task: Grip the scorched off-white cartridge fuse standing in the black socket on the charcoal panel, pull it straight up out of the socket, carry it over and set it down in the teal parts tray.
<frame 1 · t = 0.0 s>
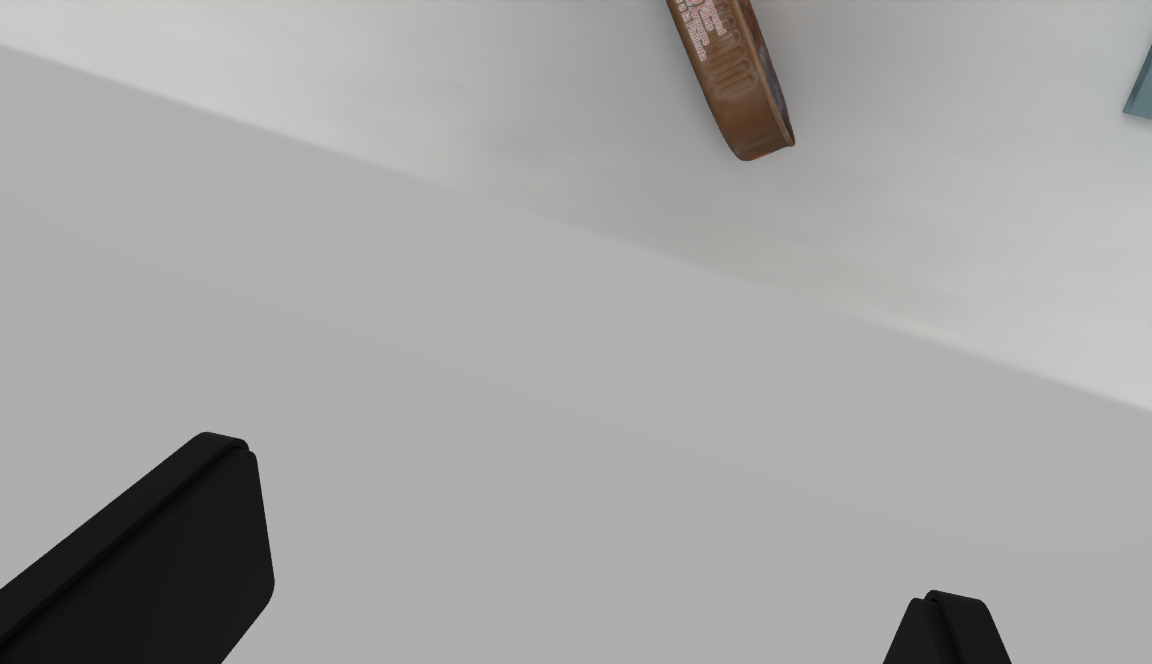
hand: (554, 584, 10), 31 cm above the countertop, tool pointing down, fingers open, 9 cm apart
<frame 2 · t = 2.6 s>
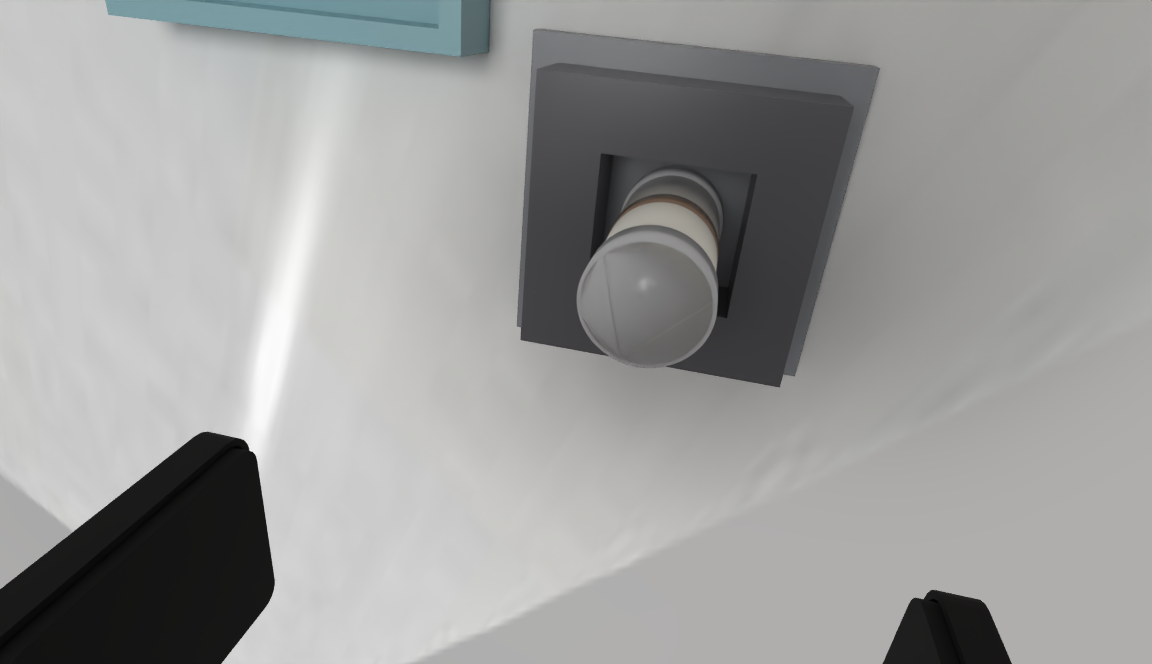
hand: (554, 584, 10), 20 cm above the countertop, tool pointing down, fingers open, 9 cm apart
fuse: (673, 215, 26), point 1 cm above the countertop, touching fuse panel
fuse panel: (675, 208, 27), on the countertop
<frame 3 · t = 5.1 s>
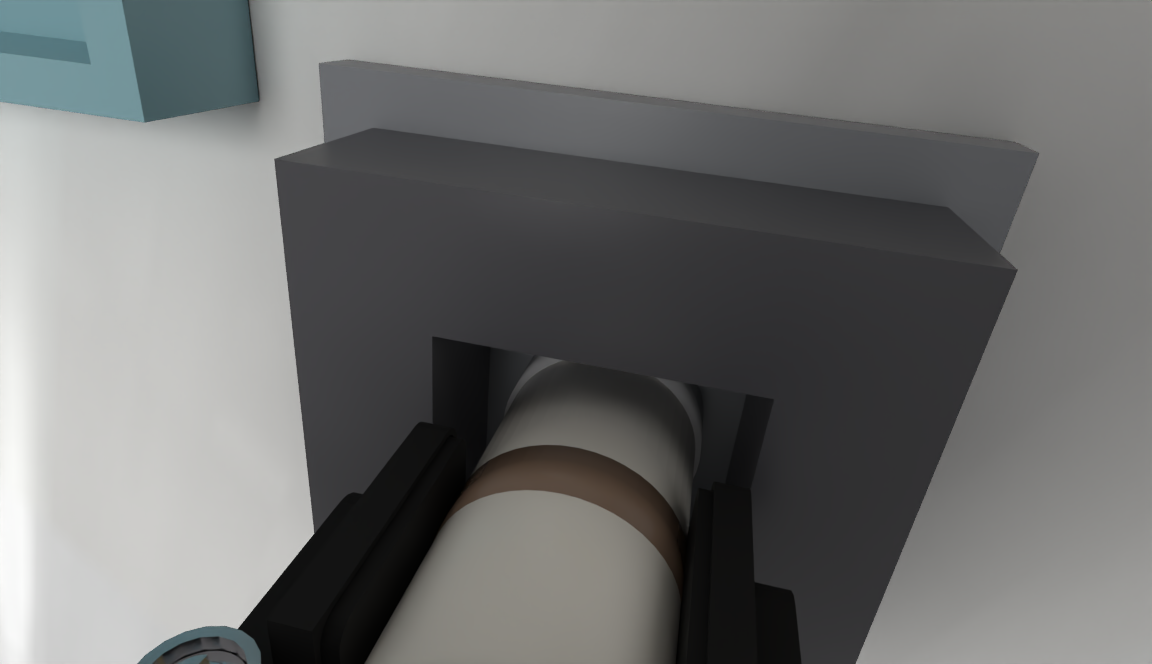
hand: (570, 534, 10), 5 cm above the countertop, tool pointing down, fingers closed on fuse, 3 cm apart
fuse: (609, 408, 14), point 1 cm above the countertop, touching fuse panel, gripper
fuse panel: (616, 384, 15), on the countertop
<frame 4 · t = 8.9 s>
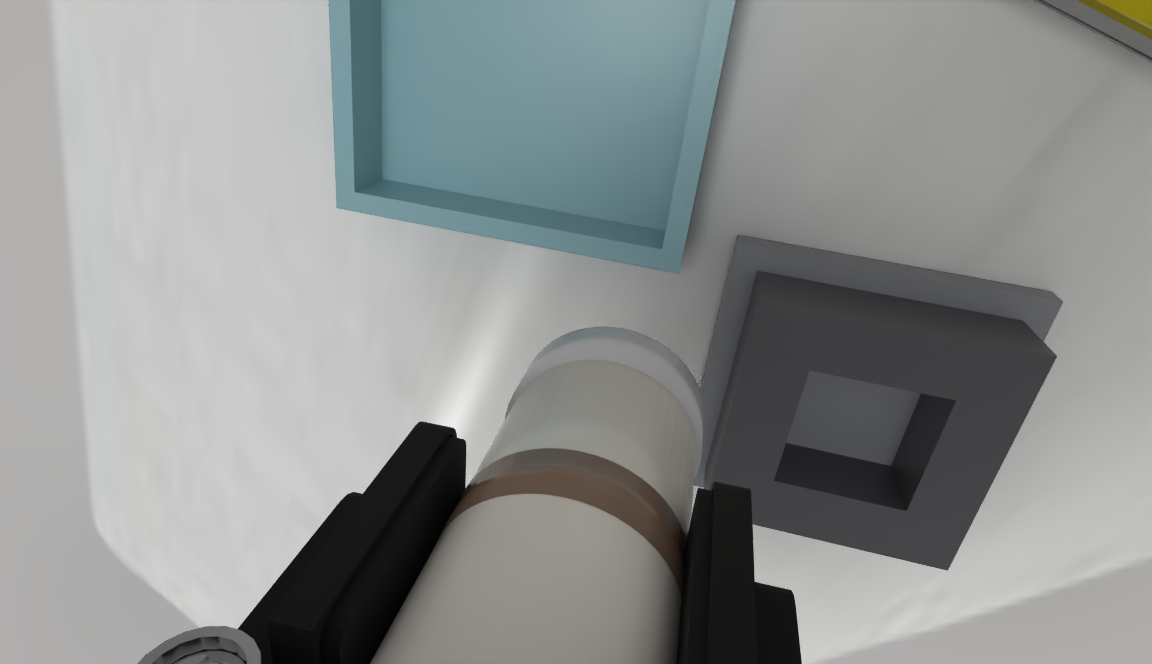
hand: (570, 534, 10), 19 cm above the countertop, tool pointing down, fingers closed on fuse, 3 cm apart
fuse: (610, 410, 14), point 15 cm above the countertop, touching gripper
parts tray: (536, 71, 26), on the countertop
fuse panel: (844, 391, 29), on the countertop
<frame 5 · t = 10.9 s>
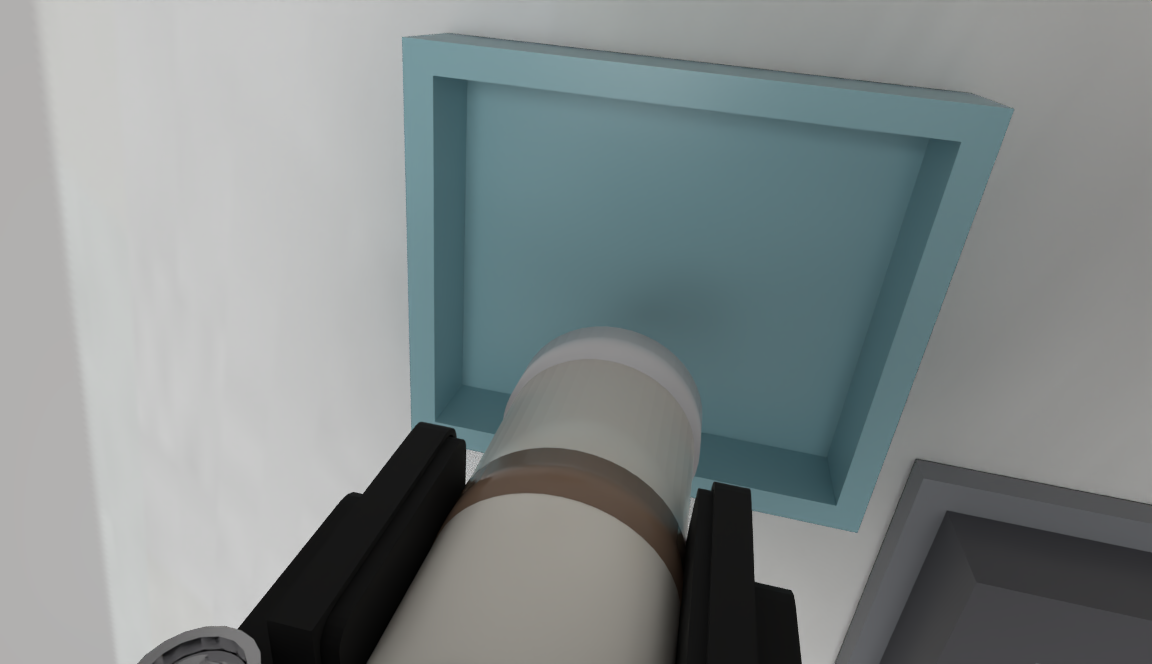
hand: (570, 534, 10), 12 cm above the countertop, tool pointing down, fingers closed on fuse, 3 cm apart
fuse: (608, 410, 14), point 8 cm above the countertop, touching gripper
parts tray: (661, 269, 21), on the countertop
fuse panel: (1042, 633, 23), on the countertop
when the fingers open (6 cm above the countertop, at t = 12.7 s): fuse drops 1 cm, resting on parts tray.
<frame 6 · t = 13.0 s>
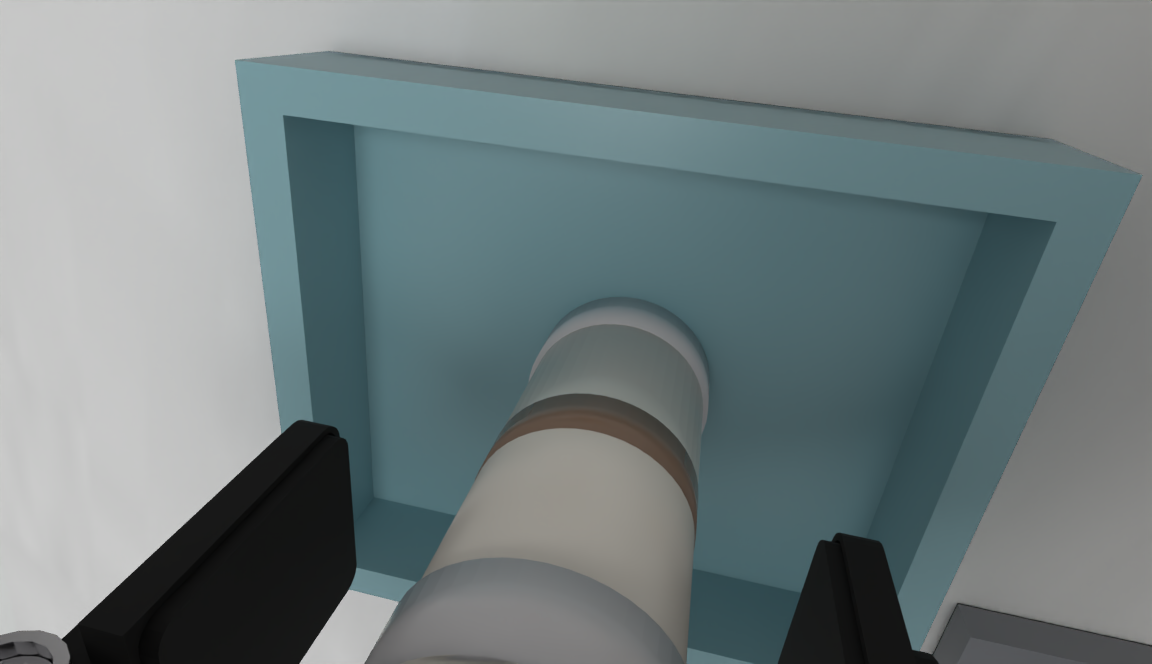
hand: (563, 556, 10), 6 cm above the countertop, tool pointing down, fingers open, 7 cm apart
fuse: (623, 375, 15), point 1 cm above the countertop, touching parts tray
parts tray: (623, 361, 16), on the countertop
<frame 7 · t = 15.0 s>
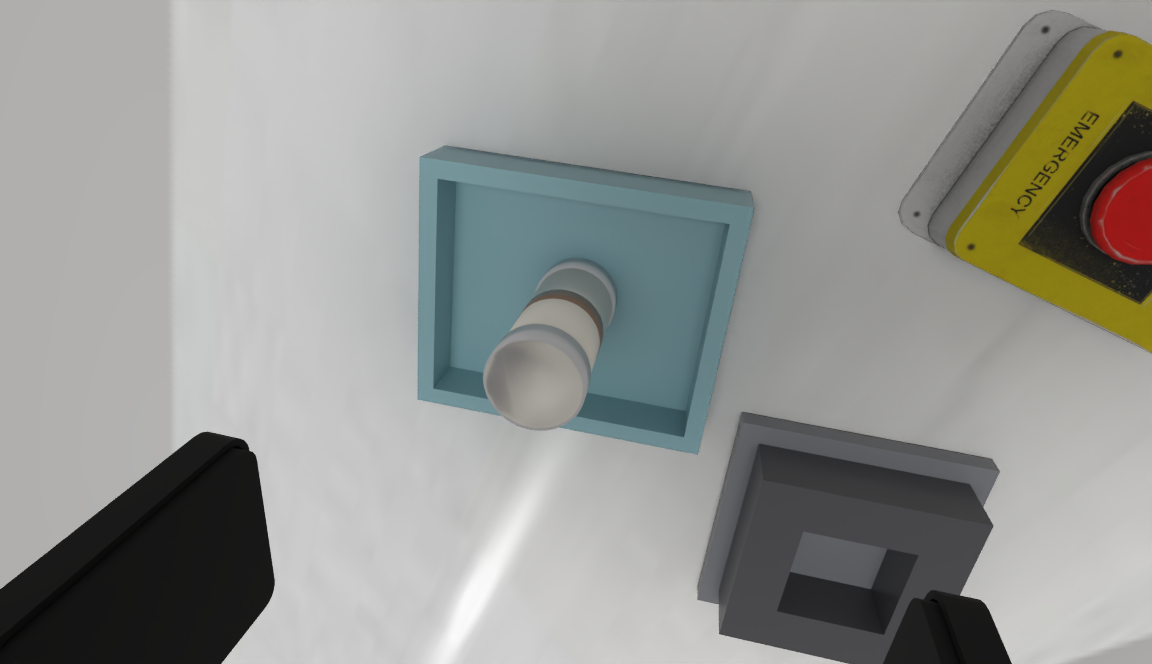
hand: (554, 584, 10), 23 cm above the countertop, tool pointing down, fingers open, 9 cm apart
fuse: (578, 295, 32), point 1 cm above the countertop, touching parts tray
emergency button: (1115, 197, 28), on the countertop
parts tray: (578, 290, 33), on the countertop
fuse panel: (831, 528, 36), on the countertop
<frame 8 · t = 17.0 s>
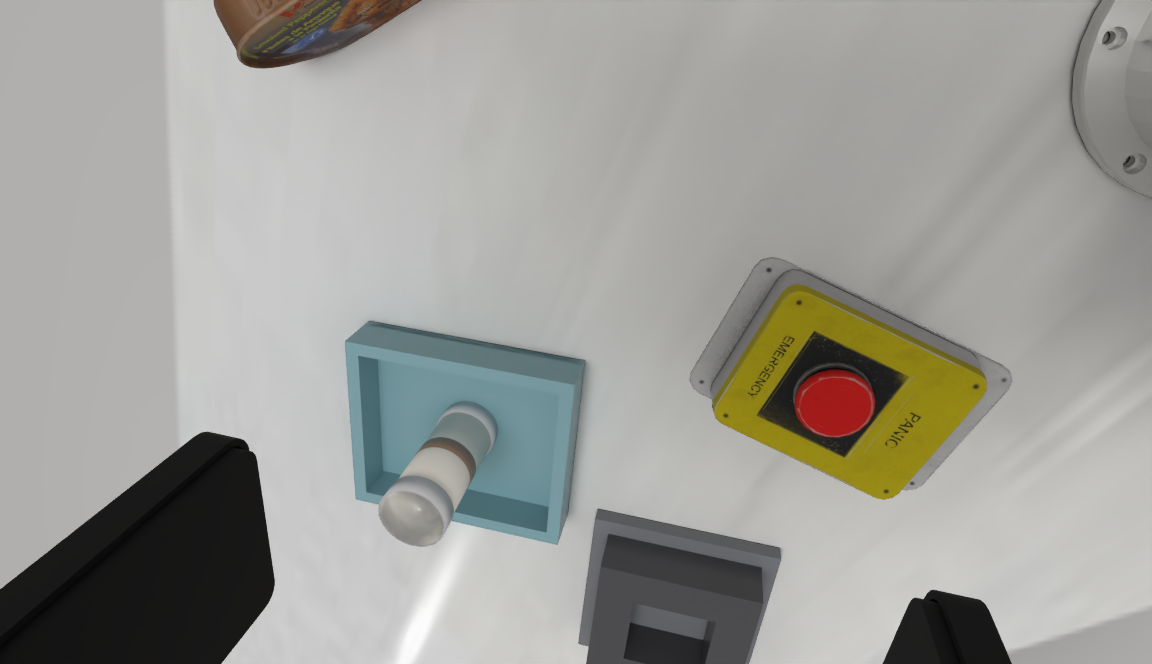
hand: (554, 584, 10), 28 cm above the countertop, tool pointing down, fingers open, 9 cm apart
fuse: (470, 426, 44), point 1 cm above the countertop, touching parts tray
emergency button: (840, 373, 38), on the countertop
parts tray: (472, 421, 44), on the countertop
fuse panel: (673, 593, 47), on the countertop
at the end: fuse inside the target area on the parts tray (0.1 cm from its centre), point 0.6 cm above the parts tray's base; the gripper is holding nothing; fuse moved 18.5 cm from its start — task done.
